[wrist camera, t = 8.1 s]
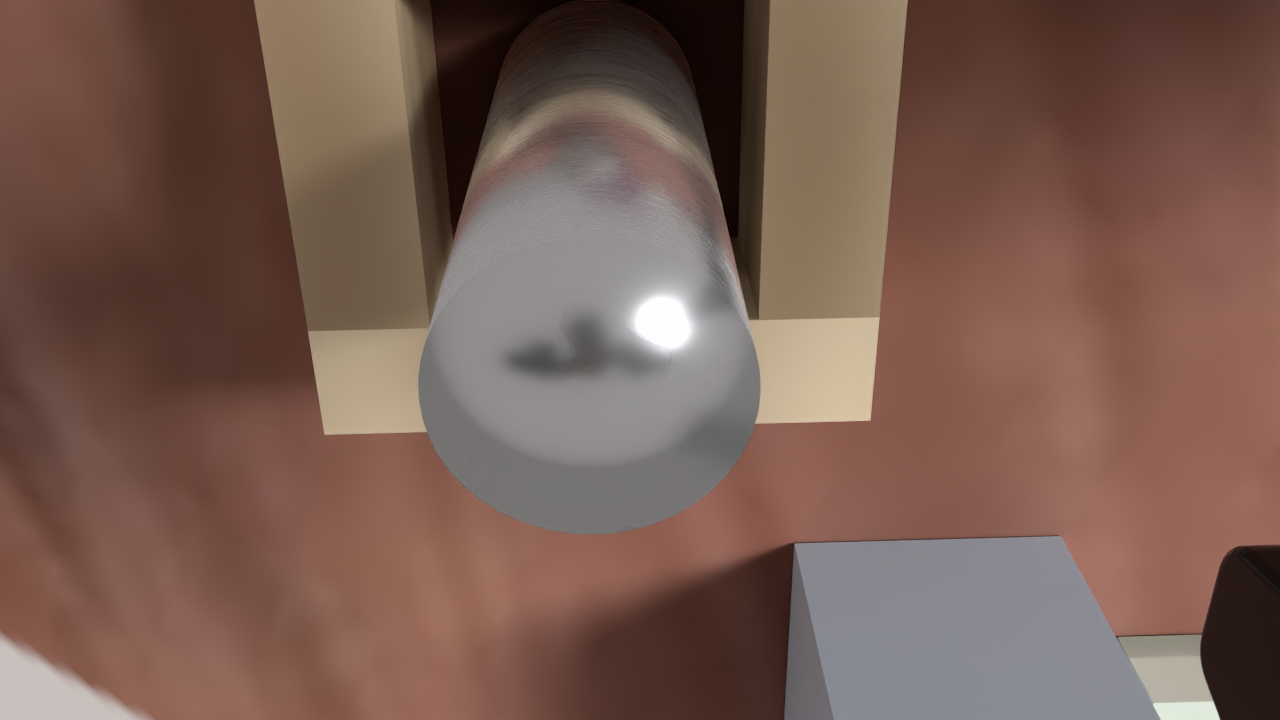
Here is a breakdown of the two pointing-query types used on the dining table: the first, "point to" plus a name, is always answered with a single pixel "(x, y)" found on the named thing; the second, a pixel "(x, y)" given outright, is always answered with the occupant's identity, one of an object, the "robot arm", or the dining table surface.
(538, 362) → the steel pin
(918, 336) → the dining table surface
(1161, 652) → the tray
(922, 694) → the slate block
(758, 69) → the oak block
